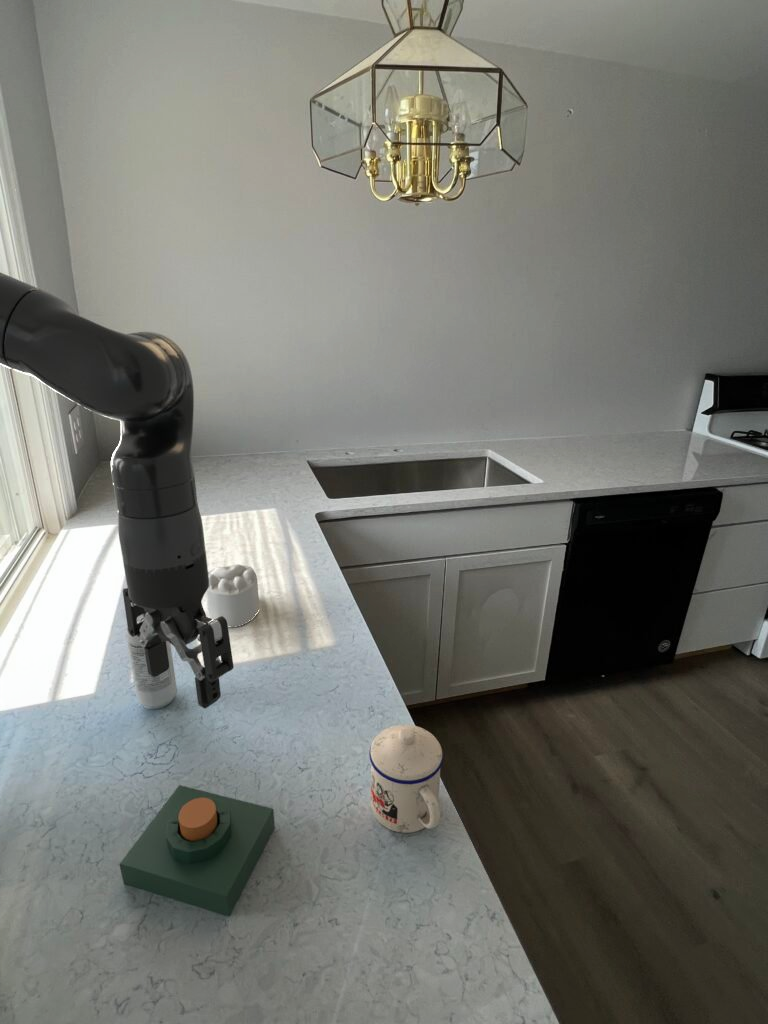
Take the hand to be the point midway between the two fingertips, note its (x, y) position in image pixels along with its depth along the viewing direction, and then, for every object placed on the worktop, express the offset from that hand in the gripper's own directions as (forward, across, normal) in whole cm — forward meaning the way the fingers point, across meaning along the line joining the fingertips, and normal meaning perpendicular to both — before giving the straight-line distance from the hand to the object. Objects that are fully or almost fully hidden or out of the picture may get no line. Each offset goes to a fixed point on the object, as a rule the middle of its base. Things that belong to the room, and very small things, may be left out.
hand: (183, 687), depth 59 cm
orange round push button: (+17, +2, -2) cm, 17 cm away
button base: (+22, +2, -2) cm, 22 cm away
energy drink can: (+22, -26, +12) cm, 36 cm away
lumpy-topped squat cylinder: (+22, -38, +37) cm, 57 cm away
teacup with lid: (+22, +19, +17) cm, 34 cm away
